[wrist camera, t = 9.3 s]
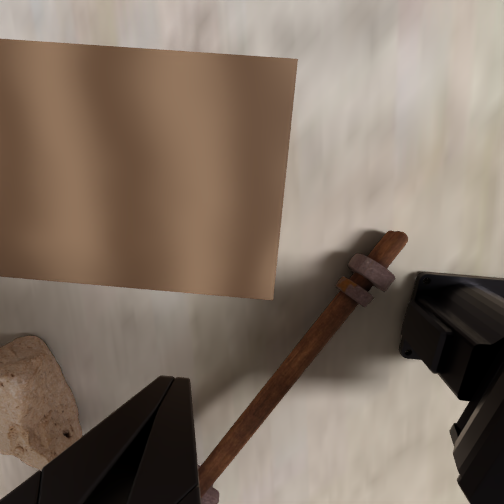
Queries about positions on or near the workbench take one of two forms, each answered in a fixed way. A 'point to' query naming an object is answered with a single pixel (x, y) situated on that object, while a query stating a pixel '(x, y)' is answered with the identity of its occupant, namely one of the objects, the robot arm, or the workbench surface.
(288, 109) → the plate
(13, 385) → the stone
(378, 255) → the hammer
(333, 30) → the workbench surface
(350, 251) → the workbench surface
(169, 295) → the workbench surface
